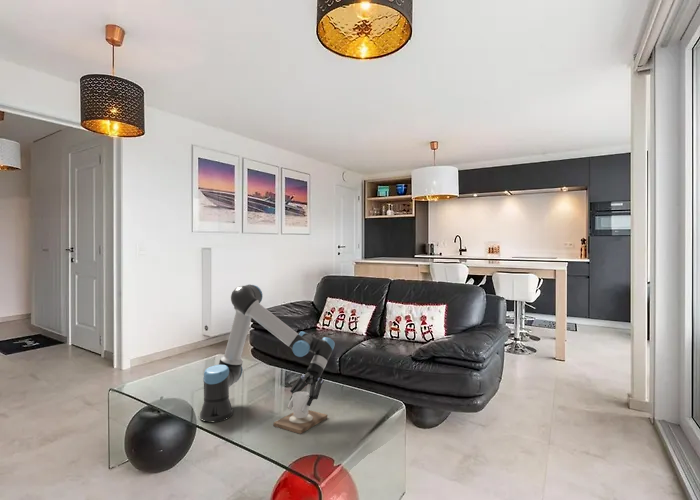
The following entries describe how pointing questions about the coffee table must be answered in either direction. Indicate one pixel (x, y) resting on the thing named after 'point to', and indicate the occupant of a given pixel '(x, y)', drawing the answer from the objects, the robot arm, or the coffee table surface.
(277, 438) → the coffee table surface
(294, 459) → the coffee table surface
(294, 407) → the white cup
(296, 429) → the serving board
